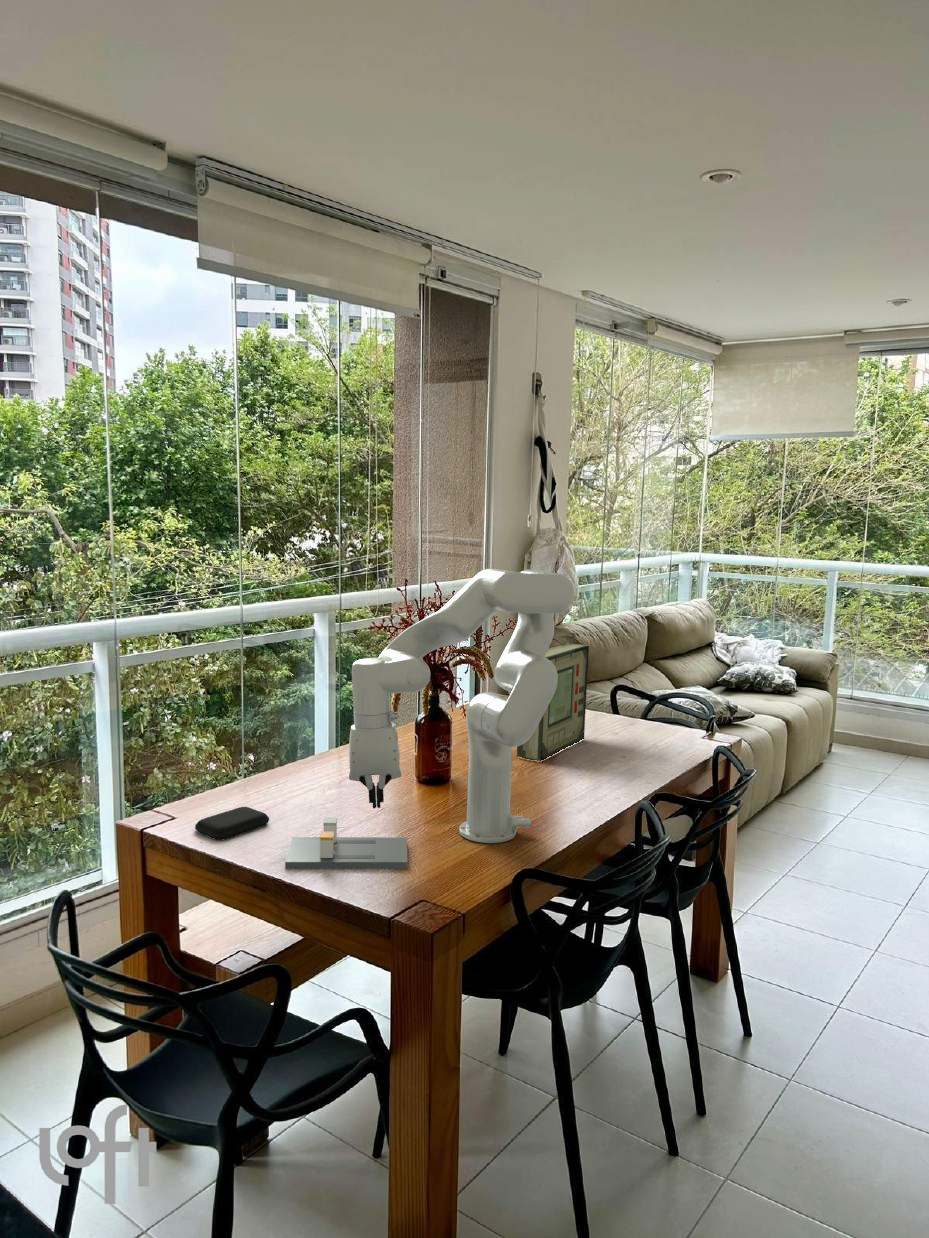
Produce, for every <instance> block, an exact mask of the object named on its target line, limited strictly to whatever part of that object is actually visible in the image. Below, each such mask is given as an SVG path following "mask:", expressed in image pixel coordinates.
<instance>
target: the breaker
mask: <svg viewBox="0 0 929 1238" xmlns="http://www.w3.org/2000/svg"><path fill="white" fill-rule="evenodd" d="M323 832H334V843H336V838H337V836H338V834H337V833H338V817H328V816H327V817H326V816H325V817H324V819H323Z"/></svg>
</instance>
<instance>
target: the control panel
mask: <svg viewBox="0 0 929 1238" xmlns="http://www.w3.org/2000/svg"><path fill="white" fill-rule="evenodd" d="M589 648H590V645H589V644H580V643H572V642H565V643H561V644H560V643H559V644H557V645H554V646H549V648H548V651H547V653H546V655H545V658H547V659H548V660H550V661H551V662H552V663H553V664H554V666H555V668H556V670H557V674H558V682H557V687H556V691H555V693H554V695H553V697H552V699H551V701H550V703H549V705H548V707H547V709H546V711H545V713H544V715H543V717H542V719H541V720H540V722H539V724H538V726H537V728H536V730H535V731H534V733H533V735H532V736H531V737H530V739H529V740H528V741H527V742H525V743H524V744H522V745H520V746H517V747H516V758H517V757H522V758H525V759H530V760H537V761H541V760H544V759H546V758H547V757H549V756H552V755H553V754H555V753H557V752H559V751H560V750H562V749H565V748H566V747H568V746H571V745H573V744H574V743H577V742H579V741H580V740H582V739H584V740H585V729H586V728H585V727H586V725H585V724H586V709H587V690H588V689H587V688H588V687H587V686H588V672H589V671H588V670H589V669H588V668H589Z"/></svg>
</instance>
